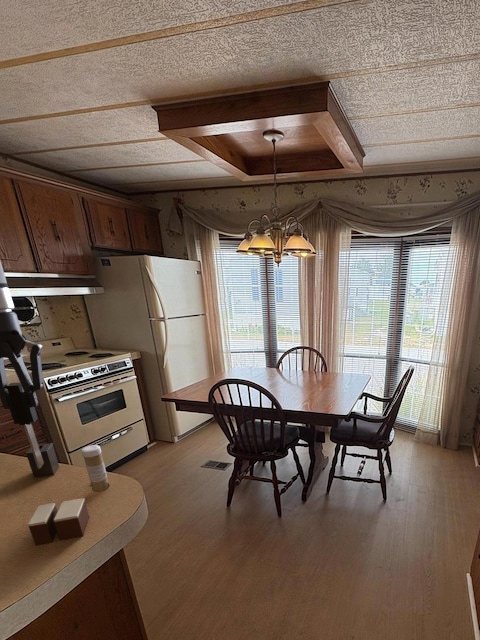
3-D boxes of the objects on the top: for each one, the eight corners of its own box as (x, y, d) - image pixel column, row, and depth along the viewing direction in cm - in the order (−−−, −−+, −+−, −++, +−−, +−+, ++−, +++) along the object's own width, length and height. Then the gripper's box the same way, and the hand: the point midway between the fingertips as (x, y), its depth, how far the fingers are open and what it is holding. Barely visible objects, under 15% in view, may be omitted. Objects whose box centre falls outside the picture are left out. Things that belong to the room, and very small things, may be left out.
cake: (68, 521, 88) (62, 501, 85) (89, 517, 90) (84, 497, 87) (60, 540, 81) (53, 519, 79) (83, 536, 83) (77, 515, 80)
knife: (37, 463, 82) (11, 382, 74) (48, 462, 83) (22, 382, 75) (33, 469, 80) (5, 386, 72) (44, 468, 80) (17, 385, 73)
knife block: (41, 473, 109) (32, 445, 105) (60, 471, 111) (52, 443, 107) (35, 482, 104) (25, 453, 100) (55, 479, 106) (46, 450, 102)
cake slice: (45, 525, 86) (38, 505, 84) (61, 522, 87) (54, 502, 85) (35, 545, 79) (27, 524, 77) (52, 542, 80) (45, 521, 78)
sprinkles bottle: (98, 484, 104) (87, 444, 99) (113, 484, 104) (103, 444, 99) (88, 492, 100) (77, 451, 95) (104, 492, 100) (93, 451, 95)
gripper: (-72, 311, 62) (-25, 431, 71) (31, 312, 67) (62, 423, 77) (-50, 309, 68) (-10, 419, 77) (42, 310, 74) (70, 412, 83)
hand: (26, 421), depth 77 cm, fingers closed on knife, 2 cm apart
